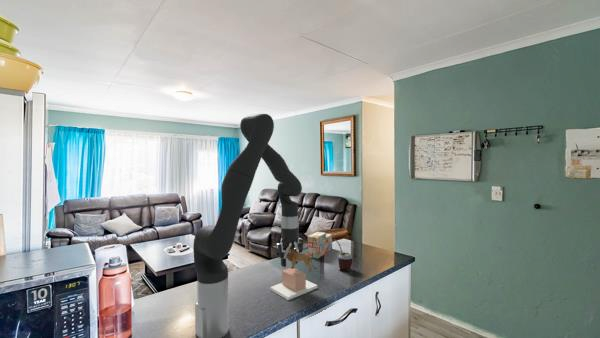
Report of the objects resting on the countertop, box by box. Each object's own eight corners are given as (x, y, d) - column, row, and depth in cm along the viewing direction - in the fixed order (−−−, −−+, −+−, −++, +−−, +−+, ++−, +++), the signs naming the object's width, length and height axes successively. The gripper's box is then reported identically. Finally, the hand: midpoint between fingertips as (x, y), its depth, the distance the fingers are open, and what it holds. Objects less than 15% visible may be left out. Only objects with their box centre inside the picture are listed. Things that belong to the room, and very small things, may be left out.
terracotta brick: (295, 291, 108) (295, 277, 108) (282, 284, 115) (282, 270, 115) (305, 287, 112) (305, 273, 112) (292, 280, 119) (292, 267, 119)
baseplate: (288, 300, 104) (288, 297, 104) (270, 289, 113) (270, 287, 113) (317, 288, 114) (317, 285, 114) (299, 279, 123) (299, 276, 123)
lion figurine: (281, 269, 113) (281, 248, 113) (285, 264, 118) (285, 244, 118) (315, 272, 109) (315, 250, 109) (318, 267, 114) (317, 247, 114)
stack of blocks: (323, 247, 172) (323, 228, 172) (332, 248, 169) (332, 229, 169) (307, 257, 154) (307, 235, 153) (317, 259, 150) (317, 237, 150)
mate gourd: (355, 272, 131) (354, 241, 131) (340, 273, 129) (340, 243, 129) (348, 266, 139) (348, 237, 138) (334, 268, 136) (333, 239, 136)
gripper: (281, 230, 108) (281, 271, 108) (307, 225, 117) (308, 263, 117) (271, 227, 113) (271, 266, 113) (296, 222, 123) (297, 258, 123)
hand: (289, 264), depth 115 cm, fingers closed on lion figurine, 6 cm apart
